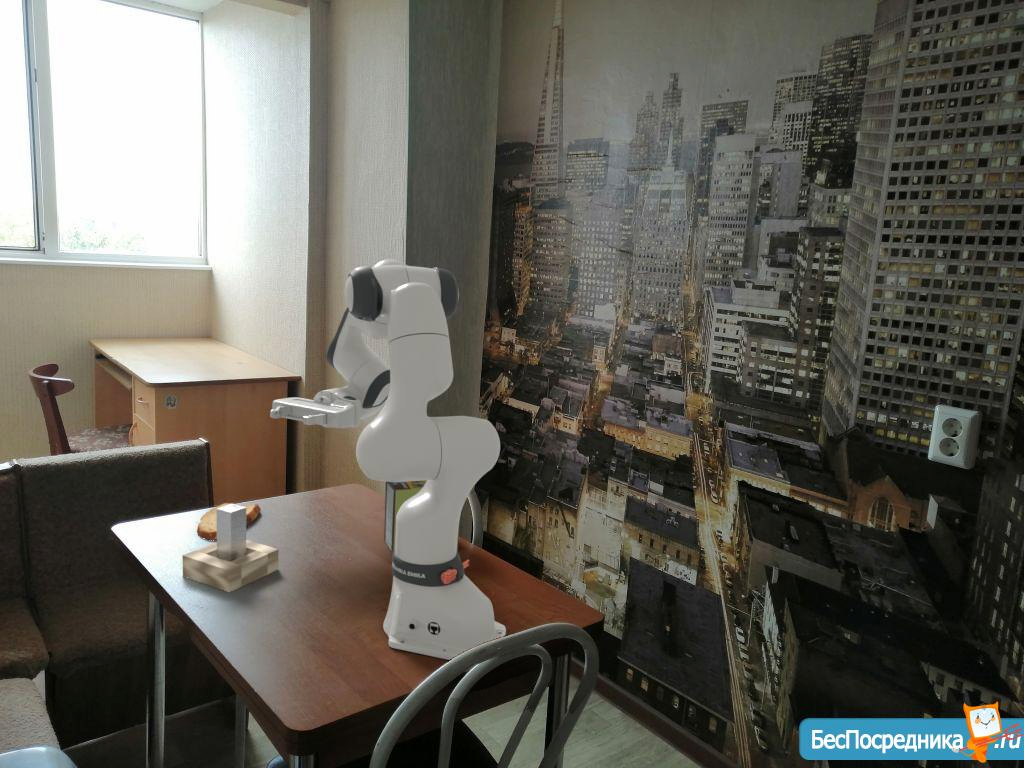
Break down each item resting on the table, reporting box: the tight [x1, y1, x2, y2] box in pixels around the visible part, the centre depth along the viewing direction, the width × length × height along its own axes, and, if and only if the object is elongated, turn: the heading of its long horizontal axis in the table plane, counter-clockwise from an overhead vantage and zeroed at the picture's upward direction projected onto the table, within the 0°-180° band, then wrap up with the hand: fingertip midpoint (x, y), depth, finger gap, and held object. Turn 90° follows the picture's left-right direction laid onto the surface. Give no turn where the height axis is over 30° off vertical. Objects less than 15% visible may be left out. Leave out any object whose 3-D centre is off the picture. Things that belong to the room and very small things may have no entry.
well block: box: [182, 539, 279, 593], centre depth 154 cm, size 13×13×4 cm
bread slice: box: [196, 502, 262, 542], centre depth 180 cm, size 18×18×4 cm
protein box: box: [383, 480, 459, 555], centre depth 173 cm, size 10×15×16 cm
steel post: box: [216, 503, 247, 562], centre depth 153 cm, size 4×4×14 cm
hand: (288, 417), depth 163 cm, fingers open, 8 cm apart
